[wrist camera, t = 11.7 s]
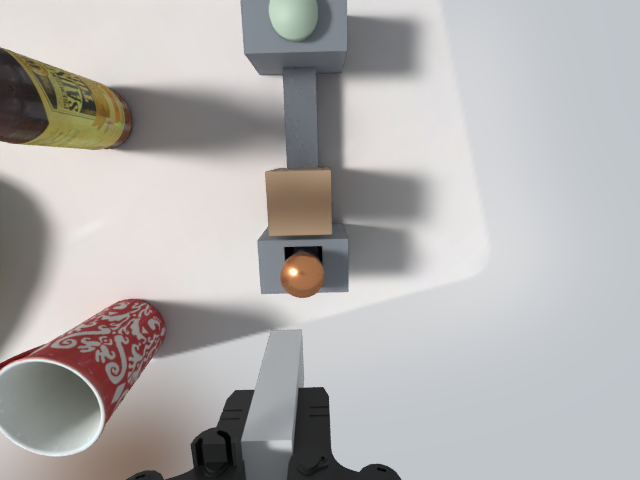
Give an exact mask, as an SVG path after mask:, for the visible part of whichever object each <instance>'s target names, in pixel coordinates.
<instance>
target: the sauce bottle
mask: <svg viewBox="0 0 640 480" xmlns="http://www.w3.org/2000/svg"><path fill="white" fill-rule="evenodd" d="M131 128H132V117H131V114H130V111H129V109H128V106H127V105H126V103H125V101H124V100H123V99H122V98H121V96H120V95H119V94H117V93H116V92H114V91H112V90H111V89H109V88H108V87H106V86H105V85H103V84H101V83H98V82H95V81H93V80H90V79H87V78H84V77H82V76H79V75H76V74H73V73H70V72H67V71H65V70H62V69H59V68H56V67H53V66H50V65H48V64H45V63H43V62H40V61H37V60H34V59H31V58H28V57H26V56H23V55H20V54H17V53H15V52H12V51H10V50H7V49H4V48H1V47H0V141H3V142H7V143H12V144H24V145H39V146H53V147H66V148H79V149H91V150H99V149H110V148H114V147H116V146H118V145H120V144H122V143H123V142H124V141H125V140H126V139H127V138H128V136H129V134H130V131H131Z"/></svg>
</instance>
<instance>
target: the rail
mask: <svg viewBox="0 0 640 480" xmlns="http://www.w3.org/2000/svg"><path fill="white" fill-rule="evenodd" d="M283 87H284V109H285V130H286V152H287V169H289V168H318V132H317V92H316V67H287V68H283Z"/></svg>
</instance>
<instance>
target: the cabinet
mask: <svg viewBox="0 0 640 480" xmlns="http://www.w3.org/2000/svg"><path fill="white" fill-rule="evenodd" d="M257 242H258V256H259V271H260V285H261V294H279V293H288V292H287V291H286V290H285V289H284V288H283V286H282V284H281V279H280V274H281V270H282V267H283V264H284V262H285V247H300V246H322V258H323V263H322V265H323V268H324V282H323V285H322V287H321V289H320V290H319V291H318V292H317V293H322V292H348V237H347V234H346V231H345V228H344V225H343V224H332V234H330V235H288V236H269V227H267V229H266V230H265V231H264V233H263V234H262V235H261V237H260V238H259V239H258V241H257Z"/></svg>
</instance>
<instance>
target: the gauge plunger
mask: <svg viewBox="0 0 640 480" xmlns="http://www.w3.org/2000/svg"><path fill="white" fill-rule="evenodd" d="M280 279H281V284H282V286H283V288H284V289H285V290H286V291H287V292H288V293H289V294H291V295H293V296H295V297H299V298H306V297H310V296H312V295H314V294H316V293H317V292H318V291H319V290H320V289H321V287H322V285H323V282H324V268H323V265H322V263H321V261H320V260H319V259H318V249H317V247H316V246H300V247H295V248H294V250H293V254H292V255H291V256H290V257H289V258H287V260H286V261H285V262H284V264H283V267H282V270H281V274H280Z"/></svg>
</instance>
